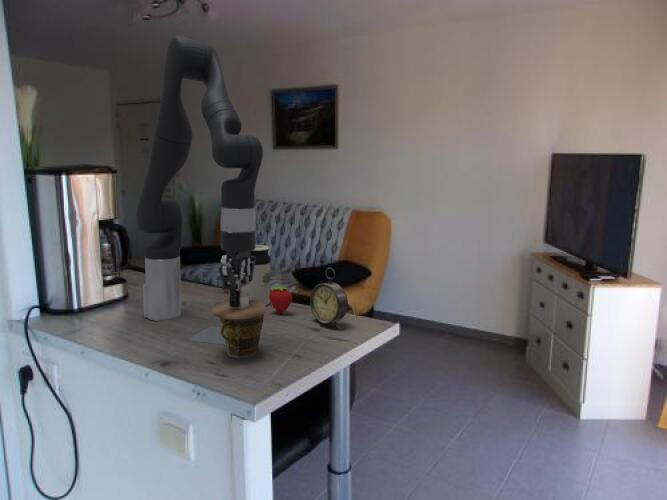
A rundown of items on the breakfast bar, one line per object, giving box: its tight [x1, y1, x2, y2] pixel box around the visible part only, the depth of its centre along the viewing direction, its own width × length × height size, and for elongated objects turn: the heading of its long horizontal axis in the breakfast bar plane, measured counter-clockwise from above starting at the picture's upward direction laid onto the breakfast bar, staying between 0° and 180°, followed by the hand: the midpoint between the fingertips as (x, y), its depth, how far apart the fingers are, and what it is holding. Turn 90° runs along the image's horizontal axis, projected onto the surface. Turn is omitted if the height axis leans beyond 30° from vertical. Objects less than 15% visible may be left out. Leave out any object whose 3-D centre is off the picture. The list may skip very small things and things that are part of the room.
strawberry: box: [269, 281, 293, 316], centre depth 147 cm, size 6×8×10 cm
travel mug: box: [249, 244, 271, 306], centre depth 156 cm, size 8×8×18 cm
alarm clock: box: [309, 267, 349, 330], centre depth 138 cm, size 11×5×16 cm, turn 47°
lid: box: [210, 283, 267, 319], centre depth 113 cm, size 12×12×6 cm
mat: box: [187, 325, 226, 346], centre depth 128 cm, size 11×11×1 cm
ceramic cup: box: [219, 313, 265, 359], centre depth 115 cm, size 13×10×10 cm
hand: (238, 304), depth 113 cm, fingers closed on lid, 3 cm apart
